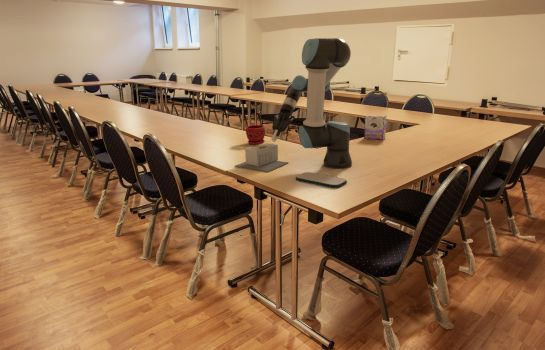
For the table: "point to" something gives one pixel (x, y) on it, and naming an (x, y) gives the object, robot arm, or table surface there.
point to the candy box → (375, 127)
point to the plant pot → (255, 134)
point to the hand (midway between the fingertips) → (273, 140)
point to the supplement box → (261, 154)
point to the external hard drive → (321, 180)
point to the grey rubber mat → (263, 166)
